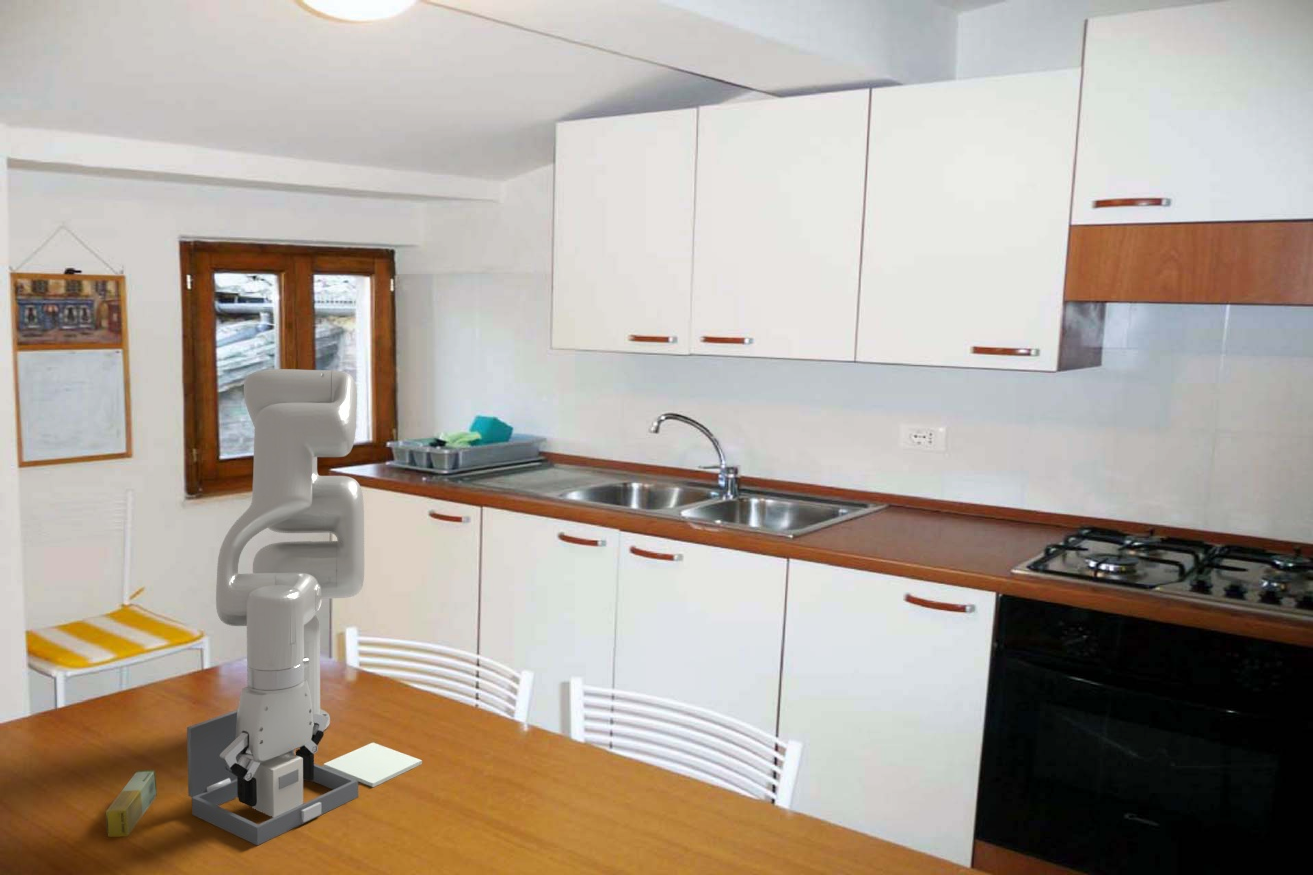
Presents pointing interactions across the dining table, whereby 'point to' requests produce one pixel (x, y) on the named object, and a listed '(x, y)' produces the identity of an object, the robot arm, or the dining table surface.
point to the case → (220, 785)
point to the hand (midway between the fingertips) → (276, 790)
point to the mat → (373, 764)
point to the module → (279, 784)
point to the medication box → (131, 804)
